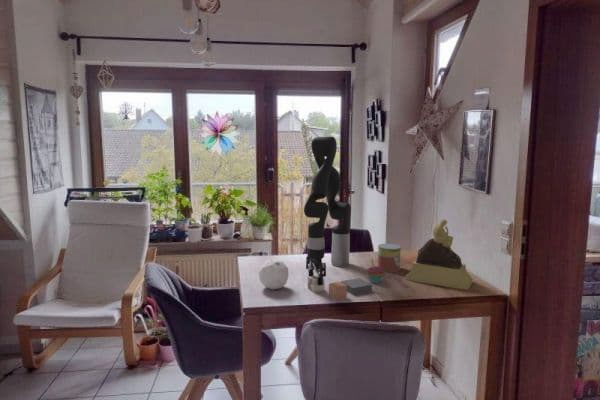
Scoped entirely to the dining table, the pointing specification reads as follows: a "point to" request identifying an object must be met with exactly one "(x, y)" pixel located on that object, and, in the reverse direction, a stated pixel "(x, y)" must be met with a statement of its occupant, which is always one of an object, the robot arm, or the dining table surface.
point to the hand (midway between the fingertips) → (315, 282)
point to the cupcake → (375, 273)
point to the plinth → (357, 286)
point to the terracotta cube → (337, 290)
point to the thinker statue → (440, 262)
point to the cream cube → (315, 284)
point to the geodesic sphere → (273, 274)
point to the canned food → (389, 257)
